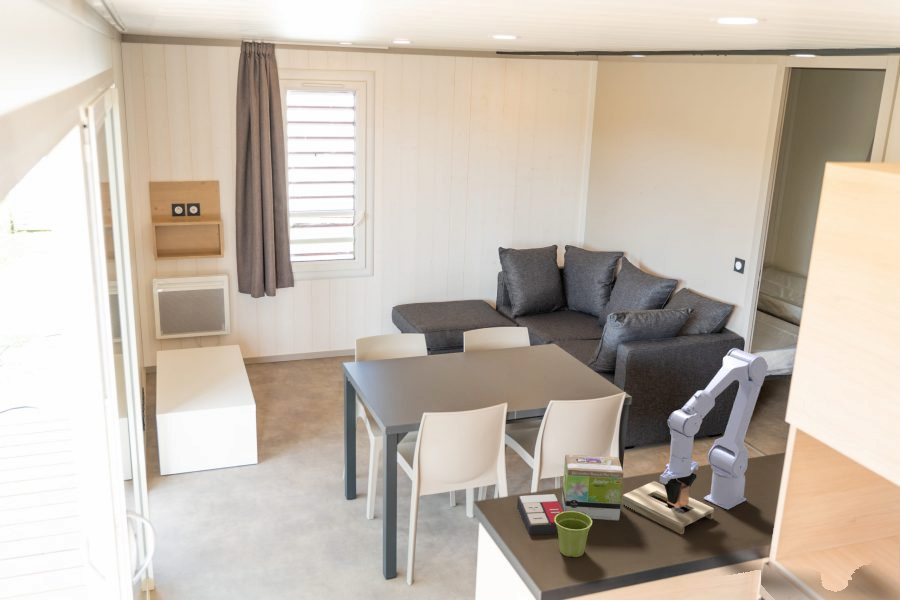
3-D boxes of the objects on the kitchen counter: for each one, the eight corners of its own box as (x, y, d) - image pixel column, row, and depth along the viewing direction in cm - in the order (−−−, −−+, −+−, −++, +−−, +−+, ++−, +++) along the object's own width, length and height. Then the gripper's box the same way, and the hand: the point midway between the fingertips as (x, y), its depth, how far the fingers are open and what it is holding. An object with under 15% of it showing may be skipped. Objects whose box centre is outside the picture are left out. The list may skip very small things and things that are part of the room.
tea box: (564, 519, 216) (567, 469, 212) (561, 501, 226) (564, 453, 222) (620, 521, 215) (623, 471, 212) (615, 503, 225) (618, 455, 221)
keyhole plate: (653, 490, 233) (654, 481, 232) (712, 518, 217) (713, 508, 217) (622, 504, 224) (622, 494, 224) (681, 534, 209) (682, 524, 208)
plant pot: (545, 549, 201) (546, 518, 199) (571, 537, 207) (572, 507, 205) (572, 566, 194) (573, 534, 192) (598, 553, 200) (600, 522, 198)
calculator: (529, 524, 207) (517, 493, 221) (528, 538, 208) (516, 507, 222) (570, 521, 208) (555, 491, 223) (569, 535, 210) (554, 505, 224)
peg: (674, 509, 221) (677, 479, 219) (688, 516, 218) (691, 485, 216) (665, 514, 219) (667, 484, 216) (678, 521, 215) (681, 490, 213)
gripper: (684, 442, 222) (680, 486, 225) (651, 455, 213) (648, 502, 216) (706, 451, 216) (702, 496, 220) (673, 465, 207) (669, 512, 211)
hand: (676, 500), depth 217 cm, fingers closed on peg, 4 cm apart
